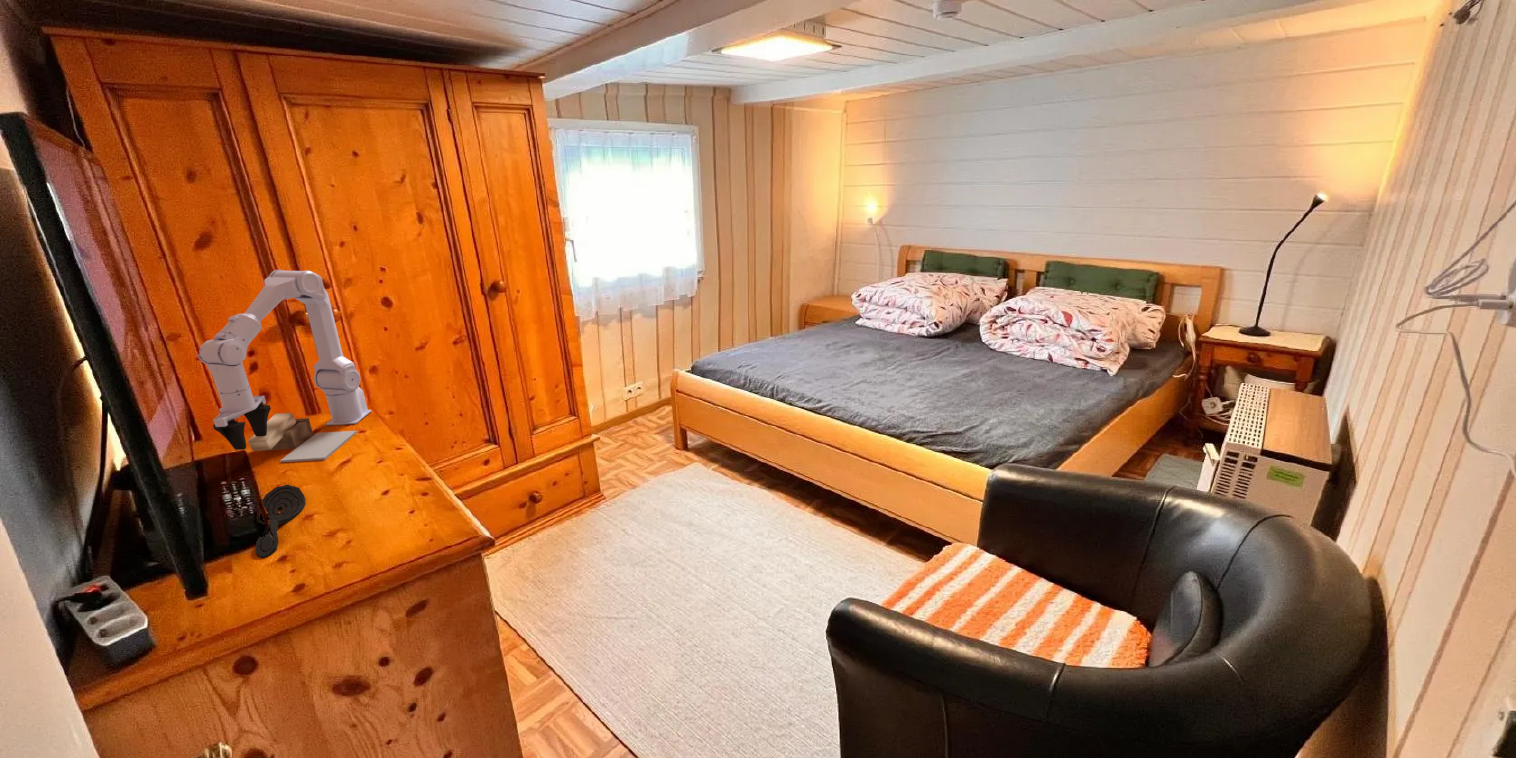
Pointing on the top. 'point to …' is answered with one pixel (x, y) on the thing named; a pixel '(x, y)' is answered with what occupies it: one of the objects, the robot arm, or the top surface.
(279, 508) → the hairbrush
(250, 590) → the top surface
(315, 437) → the mat
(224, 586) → the top surface
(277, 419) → the bar
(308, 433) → the holder
